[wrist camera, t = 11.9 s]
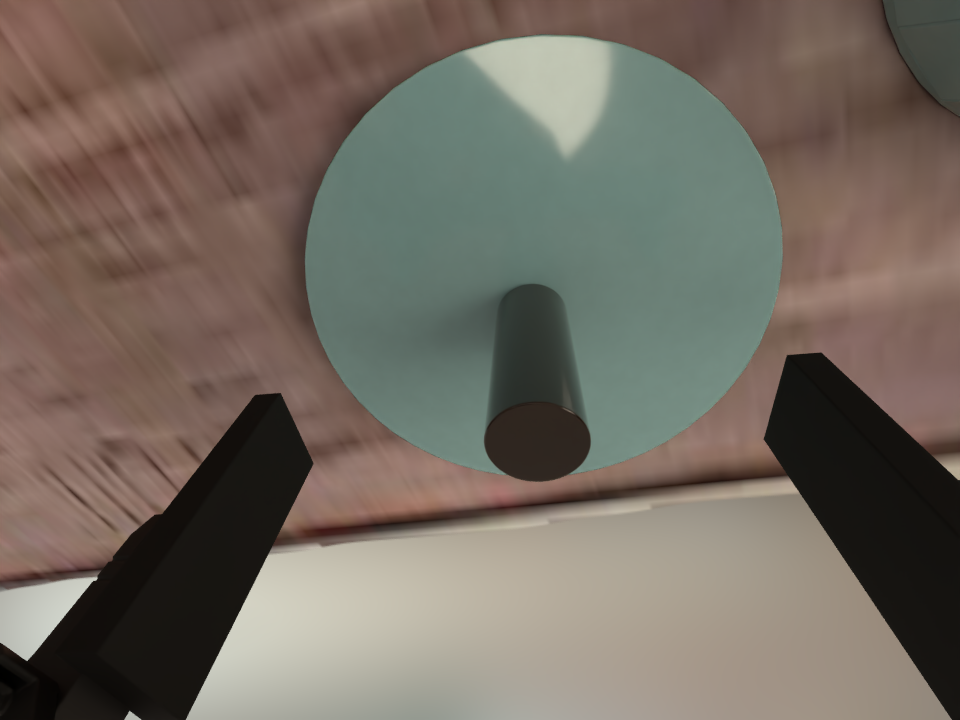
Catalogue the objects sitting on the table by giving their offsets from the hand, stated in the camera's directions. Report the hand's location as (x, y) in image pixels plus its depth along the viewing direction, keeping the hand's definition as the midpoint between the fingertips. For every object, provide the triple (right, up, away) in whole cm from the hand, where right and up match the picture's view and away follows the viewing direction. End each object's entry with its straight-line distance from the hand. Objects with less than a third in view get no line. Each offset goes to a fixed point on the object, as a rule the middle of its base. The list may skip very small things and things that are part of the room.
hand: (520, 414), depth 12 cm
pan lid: (+1, +3, +6) cm, 7 cm away
